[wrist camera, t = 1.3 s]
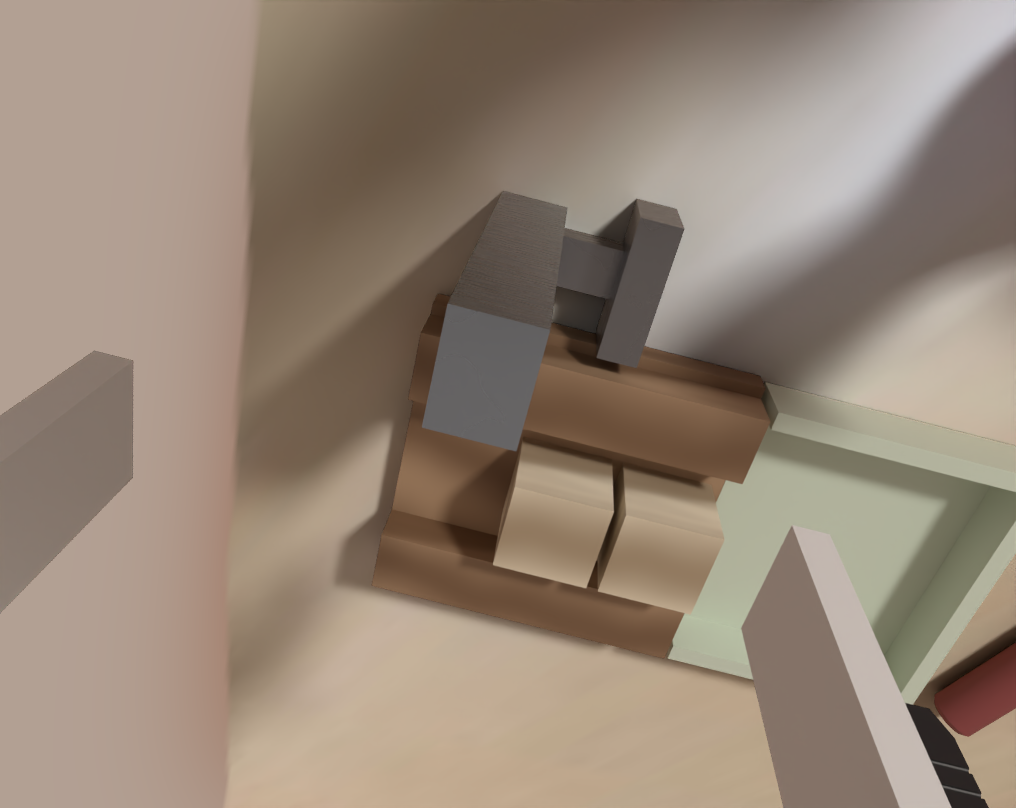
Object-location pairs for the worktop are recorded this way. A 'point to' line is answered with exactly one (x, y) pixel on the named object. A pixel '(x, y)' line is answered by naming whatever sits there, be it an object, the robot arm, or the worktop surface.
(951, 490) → the tray
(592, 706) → the worktop surface
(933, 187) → the worktop surface
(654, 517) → the light wooden cube
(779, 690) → the robot arm
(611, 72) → the worktop surface
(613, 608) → the groove board
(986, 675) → the rolling pin
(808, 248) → the worktop surface
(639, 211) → the t-shaped gray bracket
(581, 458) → the beige cube
